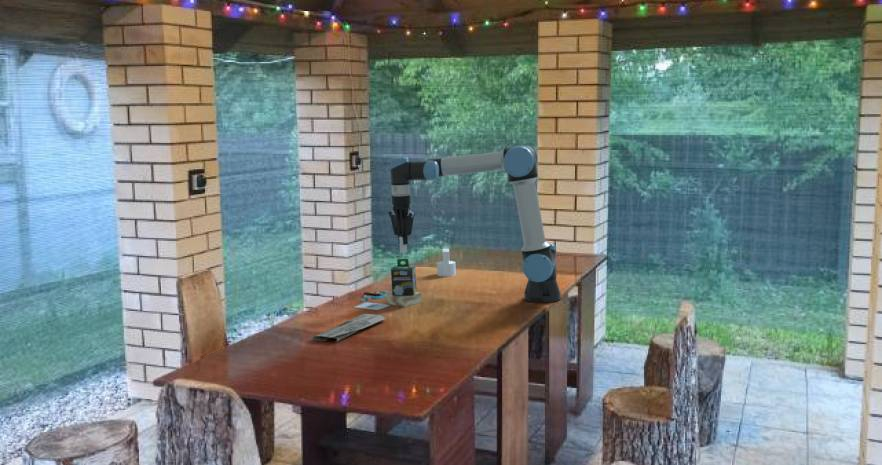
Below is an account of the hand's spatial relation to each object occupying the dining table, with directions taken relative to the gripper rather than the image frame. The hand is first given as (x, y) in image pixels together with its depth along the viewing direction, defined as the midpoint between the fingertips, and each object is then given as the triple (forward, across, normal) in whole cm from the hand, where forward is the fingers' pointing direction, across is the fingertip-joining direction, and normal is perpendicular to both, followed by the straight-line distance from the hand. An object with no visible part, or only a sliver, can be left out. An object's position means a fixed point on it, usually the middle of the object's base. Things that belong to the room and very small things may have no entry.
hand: (403, 252), depth 349 cm
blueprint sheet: (+21, -8, -12) cm, 26 cm away
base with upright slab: (+22, -24, +56) cm, 65 cm away
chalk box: (+18, 0, 0) cm, 18 cm away
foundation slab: (+21, 0, 0) cm, 21 cm away
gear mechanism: (+22, -20, +2) cm, 30 cm away
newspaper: (+22, +13, -44) cm, 51 cm away
